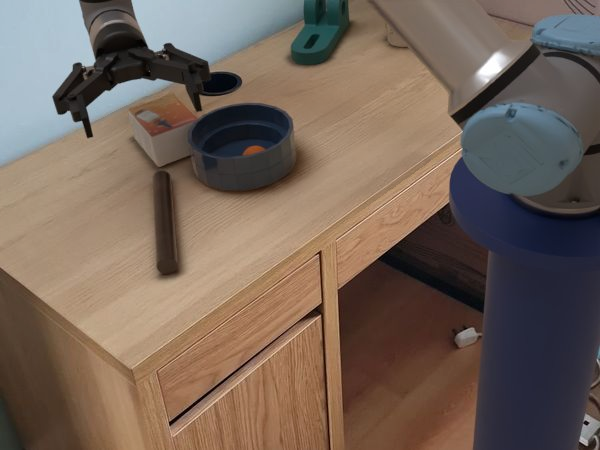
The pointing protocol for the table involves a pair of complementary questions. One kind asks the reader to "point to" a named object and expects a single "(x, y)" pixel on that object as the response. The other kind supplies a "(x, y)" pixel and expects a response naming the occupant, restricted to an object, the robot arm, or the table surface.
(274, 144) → the bowl
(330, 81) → the table surface
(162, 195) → the stick
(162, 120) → the small box
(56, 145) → the table surface
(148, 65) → the robot arm
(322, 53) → the bracket
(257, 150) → the ball
